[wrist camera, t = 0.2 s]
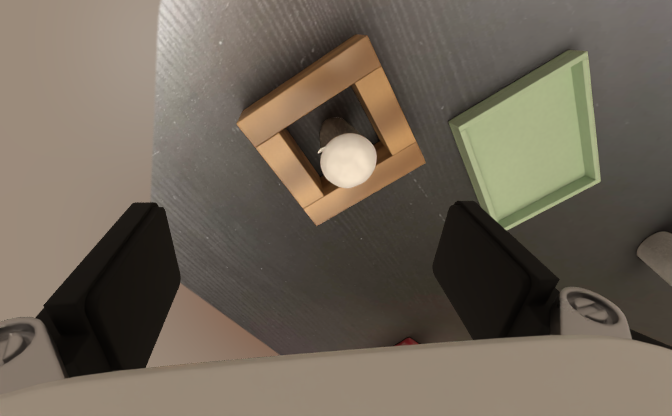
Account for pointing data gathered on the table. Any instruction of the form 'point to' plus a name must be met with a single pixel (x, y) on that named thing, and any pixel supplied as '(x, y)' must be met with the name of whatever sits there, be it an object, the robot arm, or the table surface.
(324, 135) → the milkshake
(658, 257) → the house plant
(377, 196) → the table surface
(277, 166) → the holder
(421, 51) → the table surface
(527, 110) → the tray
